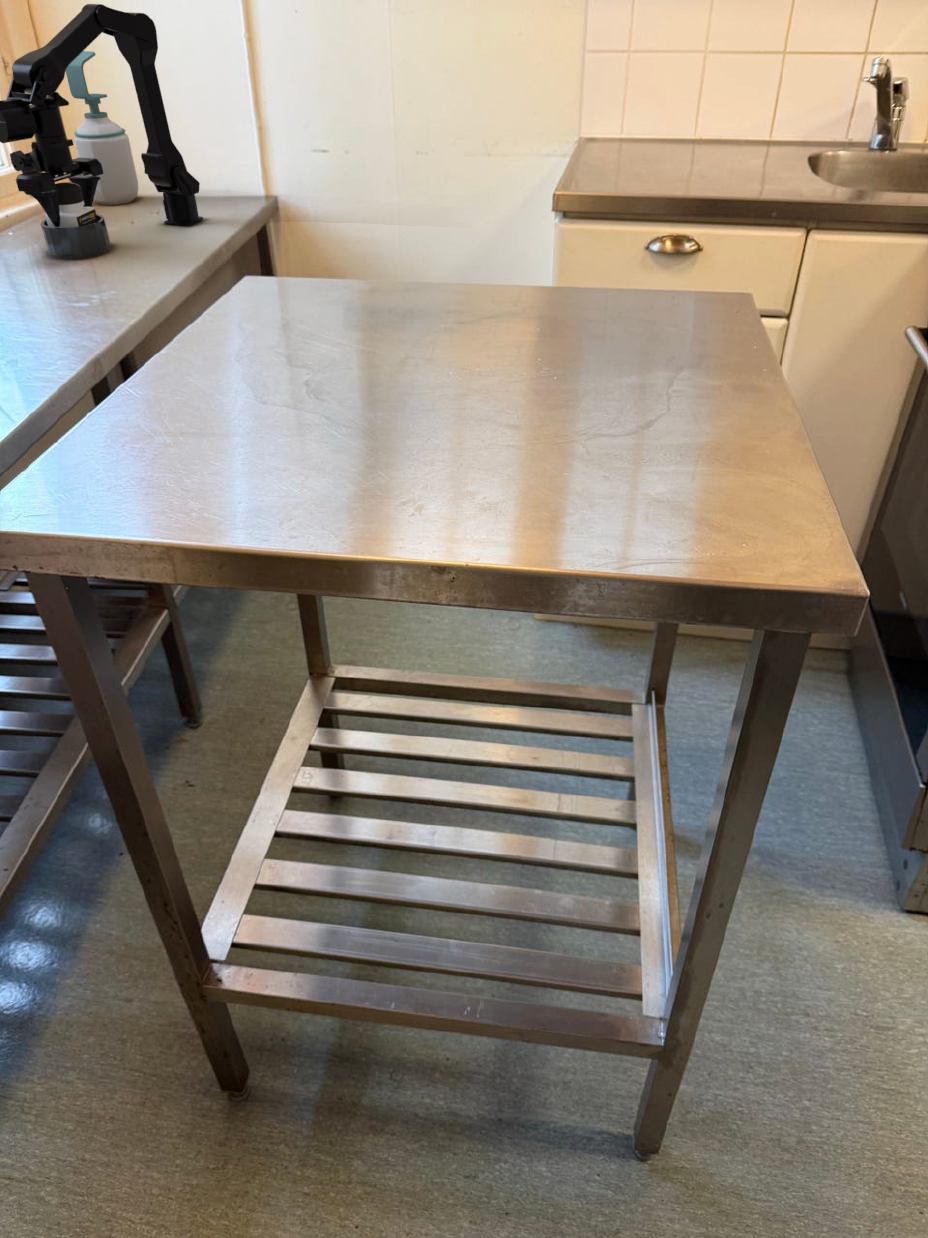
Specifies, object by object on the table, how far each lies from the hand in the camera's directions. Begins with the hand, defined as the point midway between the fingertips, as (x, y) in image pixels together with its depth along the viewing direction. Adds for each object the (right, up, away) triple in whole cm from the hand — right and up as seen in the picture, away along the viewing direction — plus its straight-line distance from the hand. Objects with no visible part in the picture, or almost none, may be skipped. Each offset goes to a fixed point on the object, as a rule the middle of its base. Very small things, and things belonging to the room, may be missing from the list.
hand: (72, 220), depth 182 cm
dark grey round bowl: (0, -5, +4) cm, 6 cm away
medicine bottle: (0, -4, +3) cm, 5 cm away
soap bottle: (-7, +22, +39) cm, 46 cm away
